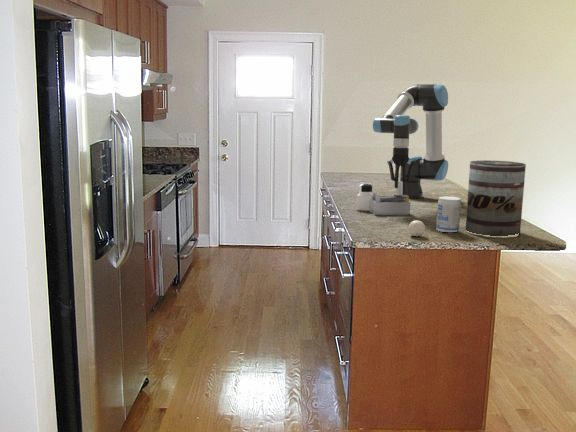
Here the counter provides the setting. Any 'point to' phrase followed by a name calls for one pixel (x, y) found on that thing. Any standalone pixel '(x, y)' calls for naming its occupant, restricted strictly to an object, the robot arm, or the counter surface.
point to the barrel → (495, 197)
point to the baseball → (416, 228)
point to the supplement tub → (448, 214)
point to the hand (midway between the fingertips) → (399, 194)
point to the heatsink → (389, 206)
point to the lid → (392, 197)
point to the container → (364, 197)
